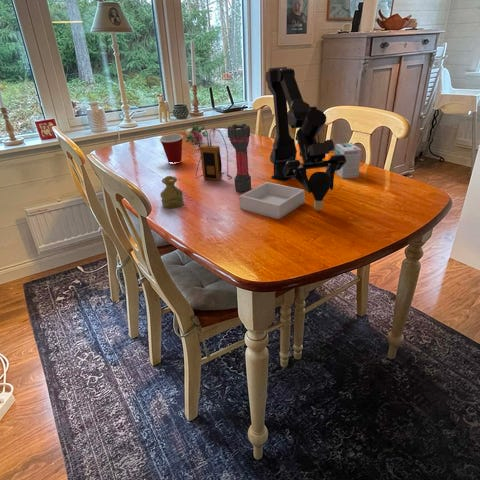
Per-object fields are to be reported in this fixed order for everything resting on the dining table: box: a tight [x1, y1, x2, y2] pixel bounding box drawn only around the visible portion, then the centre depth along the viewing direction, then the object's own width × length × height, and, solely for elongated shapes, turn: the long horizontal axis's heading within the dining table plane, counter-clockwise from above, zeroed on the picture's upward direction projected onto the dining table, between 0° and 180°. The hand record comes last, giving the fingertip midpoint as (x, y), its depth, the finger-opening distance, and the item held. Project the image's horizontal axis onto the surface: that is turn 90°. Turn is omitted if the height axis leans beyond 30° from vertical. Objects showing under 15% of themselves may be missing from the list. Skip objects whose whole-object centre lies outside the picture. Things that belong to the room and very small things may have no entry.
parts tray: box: [239, 181, 306, 220], centre depth 117 cm, size 15×15×4 cm
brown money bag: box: [159, 175, 184, 209], centre depth 122 cm, size 7×7×10 cm
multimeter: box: [195, 127, 233, 181], centre depth 143 cm, size 15×10×20 cm
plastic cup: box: [158, 133, 184, 163], centre depth 165 cm, size 11×11×12 cm
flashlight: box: [227, 123, 252, 193], centre depth 127 cm, size 8×8×23 cm
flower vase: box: [185, 125, 207, 146], centre depth 197 cm, size 12×12×35 cm
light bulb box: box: [334, 142, 362, 179], centre depth 139 cm, size 11×7×11 cm, turn 5°
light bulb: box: [308, 171, 331, 211], centre depth 110 cm, size 7×7×12 cm
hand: (321, 191), depth 108 cm, fingers closed on light bulb, 6 cm apart
